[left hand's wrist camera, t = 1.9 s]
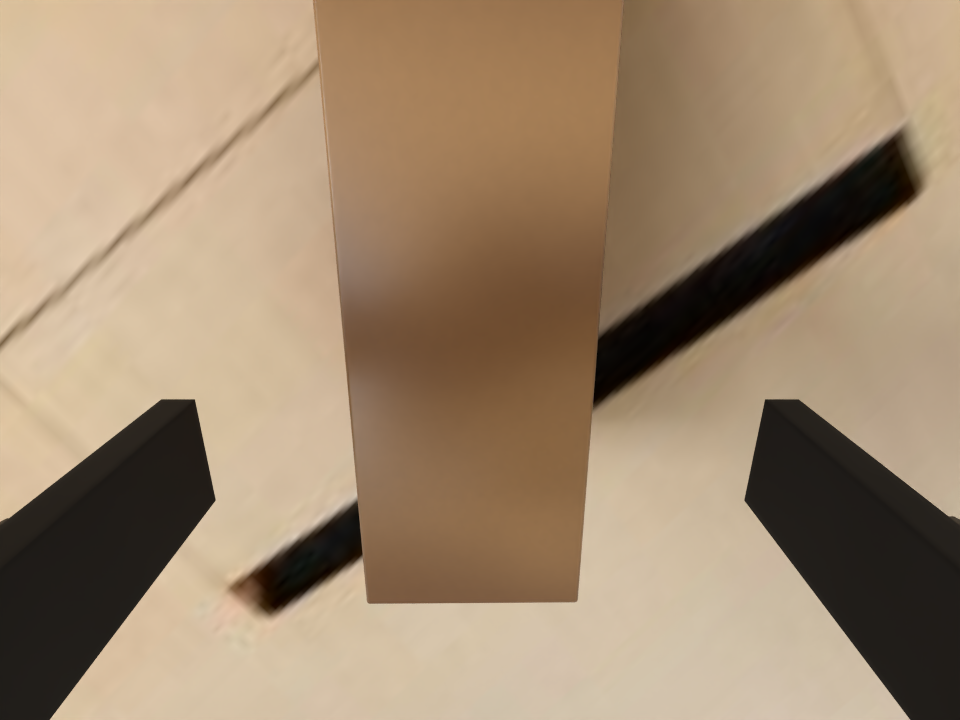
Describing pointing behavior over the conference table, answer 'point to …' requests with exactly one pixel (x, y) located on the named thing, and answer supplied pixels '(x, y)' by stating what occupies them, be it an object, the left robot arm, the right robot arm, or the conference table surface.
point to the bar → (470, 281)
